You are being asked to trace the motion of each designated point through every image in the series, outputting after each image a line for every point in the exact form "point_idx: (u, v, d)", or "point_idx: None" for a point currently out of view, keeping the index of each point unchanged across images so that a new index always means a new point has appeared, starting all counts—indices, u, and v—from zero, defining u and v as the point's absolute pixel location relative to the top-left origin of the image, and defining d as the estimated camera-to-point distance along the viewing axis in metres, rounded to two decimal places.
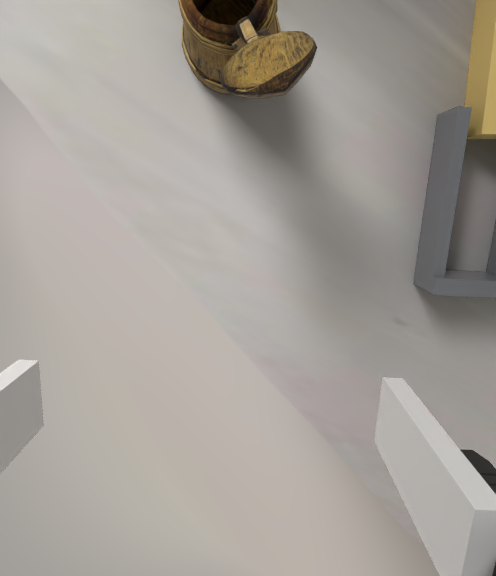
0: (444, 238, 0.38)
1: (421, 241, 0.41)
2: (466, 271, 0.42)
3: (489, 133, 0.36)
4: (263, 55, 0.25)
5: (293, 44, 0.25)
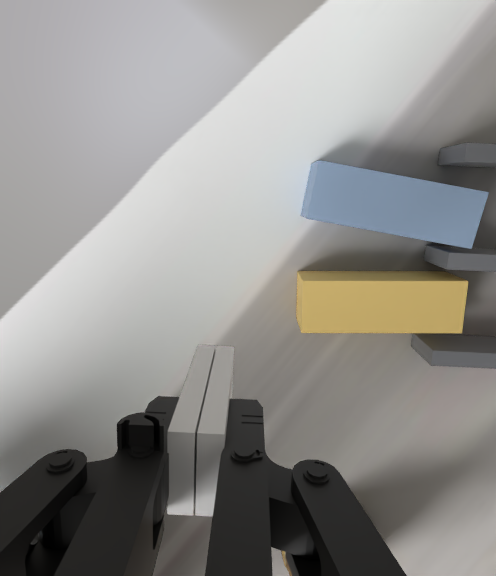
0: None
1: None
2: None
3: (461, 323, 0.31)
4: None
5: None
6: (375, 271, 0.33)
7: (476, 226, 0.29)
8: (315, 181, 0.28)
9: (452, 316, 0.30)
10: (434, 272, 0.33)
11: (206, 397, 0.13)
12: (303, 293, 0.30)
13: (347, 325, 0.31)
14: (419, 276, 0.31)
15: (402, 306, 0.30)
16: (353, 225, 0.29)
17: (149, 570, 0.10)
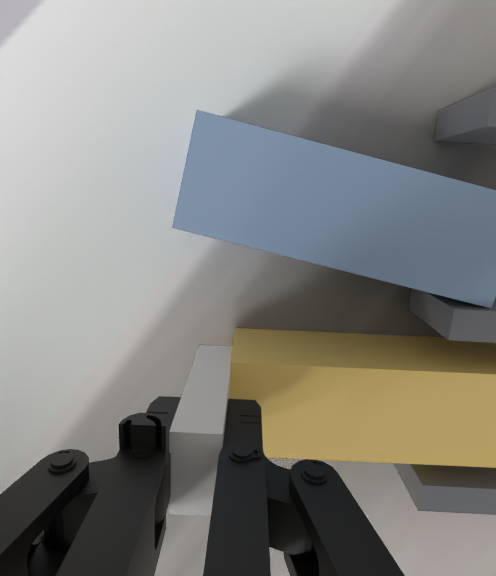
0: None
1: None
2: None
3: None
4: None
5: None
6: (370, 336, 0.19)
7: None
8: (189, 154, 0.14)
9: None
10: (474, 344, 0.19)
11: (207, 397, 0.13)
12: (231, 385, 0.16)
13: (313, 446, 0.16)
14: (451, 356, 0.17)
15: (419, 417, 0.16)
16: (264, 247, 0.15)
17: (151, 570, 0.10)
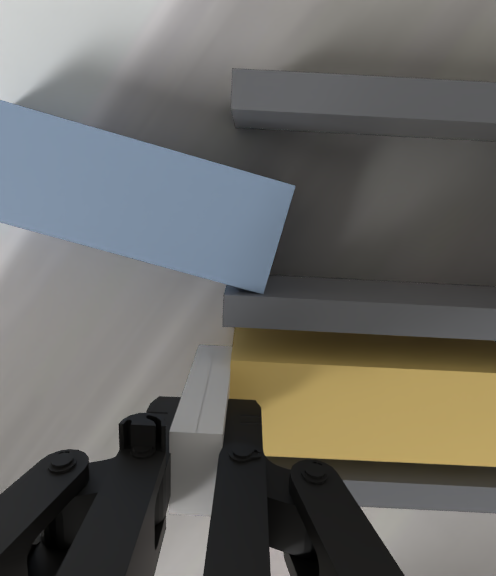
0: None
1: None
2: None
3: None
4: None
5: None
6: (371, 335, 0.19)
7: (272, 251, 0.15)
8: None
9: None
10: (475, 343, 0.18)
11: (208, 397, 0.13)
12: (231, 383, 0.16)
13: (313, 445, 0.16)
14: (451, 354, 0.17)
15: (420, 415, 0.16)
16: (28, 226, 0.14)
17: (151, 570, 0.10)
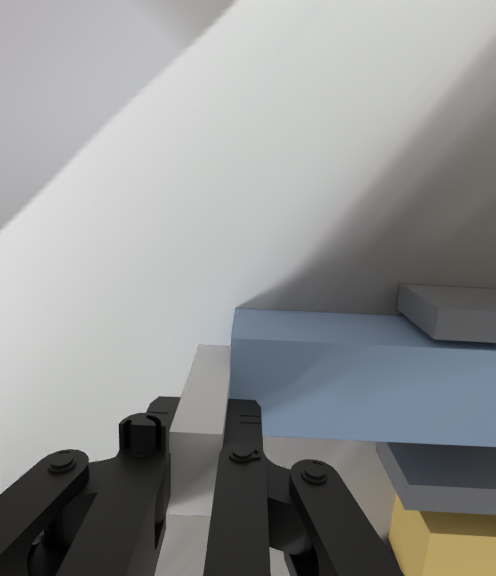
0: None
1: None
2: None
3: None
4: None
5: None
6: None
7: None
8: (231, 373, 0.15)
9: None
10: None
11: (207, 397, 0.13)
12: (427, 550, 0.18)
13: None
14: None
15: None
16: (312, 436, 0.16)
17: (151, 570, 0.10)
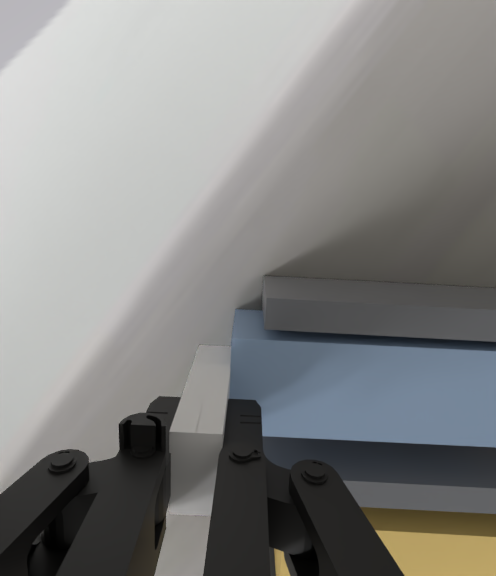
0: None
1: None
2: None
3: None
4: None
5: None
6: None
7: None
8: (231, 373, 0.16)
9: None
10: None
11: (208, 397, 0.13)
12: None
13: None
14: None
15: (450, 571, 0.18)
16: (312, 436, 0.16)
17: (151, 570, 0.10)
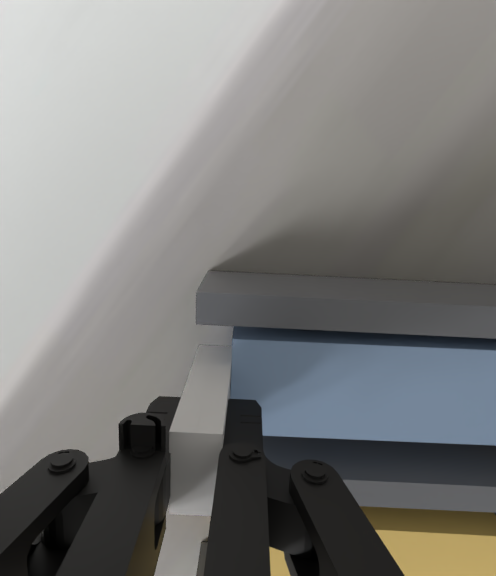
0: None
1: None
2: None
3: None
4: None
5: None
6: None
7: None
8: (233, 373, 0.16)
9: None
10: None
11: (207, 397, 0.13)
12: None
13: None
14: None
15: None
16: (313, 435, 0.16)
17: (151, 570, 0.10)
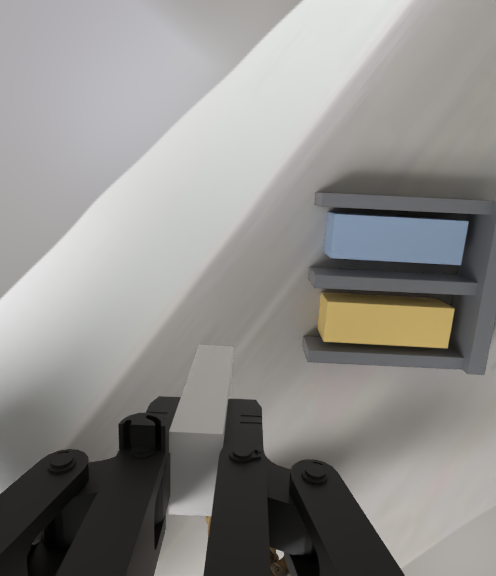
0: (425, 361, 0.39)
1: None
2: None
3: (447, 340, 0.39)
4: None
5: None
6: (382, 295, 0.42)
7: (462, 247, 0.37)
8: (334, 230, 0.37)
9: (440, 335, 0.39)
10: (429, 299, 0.42)
11: (207, 397, 0.13)
12: (327, 311, 0.39)
13: (359, 337, 0.39)
14: (417, 302, 0.40)
15: (403, 325, 0.39)
16: (367, 258, 0.37)
17: (150, 570, 0.10)
